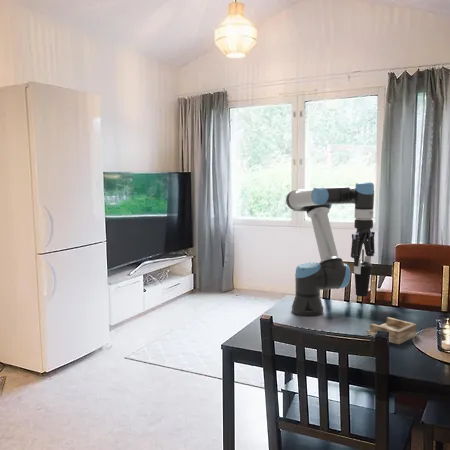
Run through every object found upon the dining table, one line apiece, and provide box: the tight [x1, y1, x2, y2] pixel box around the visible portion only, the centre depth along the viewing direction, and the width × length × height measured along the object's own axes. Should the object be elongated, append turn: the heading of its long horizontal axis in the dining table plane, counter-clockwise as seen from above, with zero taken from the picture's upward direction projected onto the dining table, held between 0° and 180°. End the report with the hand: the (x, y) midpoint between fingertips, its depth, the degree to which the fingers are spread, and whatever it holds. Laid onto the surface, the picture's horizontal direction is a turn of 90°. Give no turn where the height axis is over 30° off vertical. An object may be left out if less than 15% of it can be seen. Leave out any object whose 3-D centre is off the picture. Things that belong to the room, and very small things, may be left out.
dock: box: [366, 316, 418, 345], centre depth 185 cm, size 14×14×5 cm
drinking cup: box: [352, 248, 373, 297], centre depth 194 cm, size 8×8×20 cm
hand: (362, 272), depth 194 cm, fingers closed on drinking cup, 7 cm apart
